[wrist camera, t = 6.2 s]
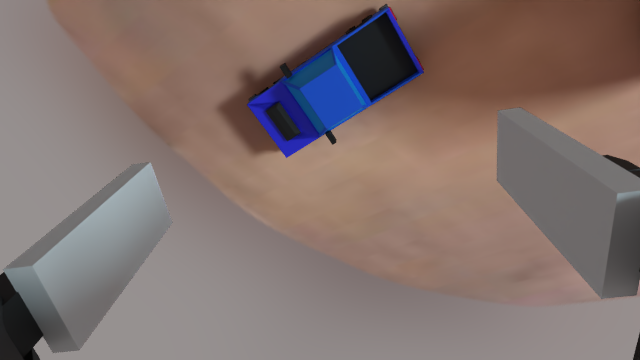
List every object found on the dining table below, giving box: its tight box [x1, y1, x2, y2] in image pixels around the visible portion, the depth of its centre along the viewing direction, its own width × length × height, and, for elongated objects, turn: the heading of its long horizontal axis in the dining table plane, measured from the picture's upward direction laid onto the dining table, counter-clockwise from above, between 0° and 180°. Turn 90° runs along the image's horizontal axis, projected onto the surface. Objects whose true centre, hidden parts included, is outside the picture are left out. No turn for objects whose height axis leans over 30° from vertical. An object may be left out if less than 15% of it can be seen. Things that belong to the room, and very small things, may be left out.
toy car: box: [247, 4, 424, 158], centre depth 29 cm, size 7×12×5 cm, turn 123°
